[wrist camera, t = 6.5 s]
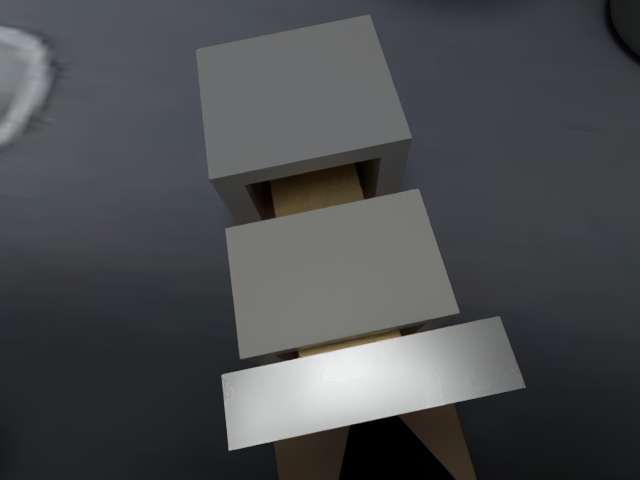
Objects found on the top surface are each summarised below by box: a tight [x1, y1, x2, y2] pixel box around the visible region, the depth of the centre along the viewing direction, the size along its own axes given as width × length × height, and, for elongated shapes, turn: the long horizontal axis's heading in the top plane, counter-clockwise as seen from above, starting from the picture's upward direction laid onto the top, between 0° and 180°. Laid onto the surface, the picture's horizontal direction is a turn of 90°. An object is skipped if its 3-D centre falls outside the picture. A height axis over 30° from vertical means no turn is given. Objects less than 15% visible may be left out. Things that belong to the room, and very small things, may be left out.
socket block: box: [196, 15, 412, 226], centre depth 17 cm, size 6×7×6 cm
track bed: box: [261, 162, 477, 480], centre depth 17 cm, size 18×7×1 cm, turn 11°
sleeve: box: [225, 189, 460, 366], centre depth 14 cm, size 4×6×6 cm, turn 101°
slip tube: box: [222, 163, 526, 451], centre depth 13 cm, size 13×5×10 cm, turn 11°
